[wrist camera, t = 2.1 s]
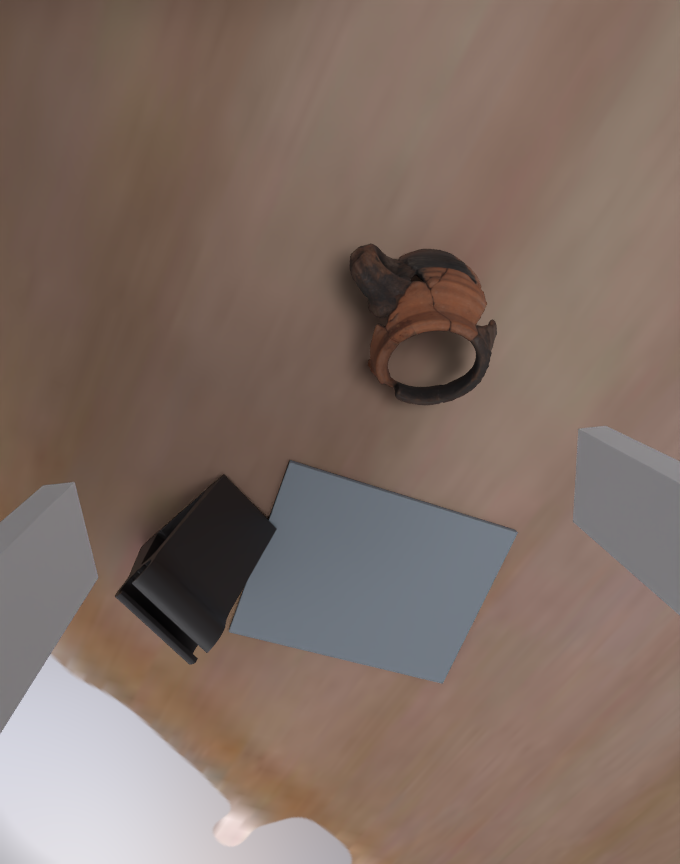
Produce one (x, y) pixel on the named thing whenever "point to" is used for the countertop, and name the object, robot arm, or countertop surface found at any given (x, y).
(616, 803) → the countertop surface
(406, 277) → the pottery mug
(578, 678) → the countertop surface
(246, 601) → the slate mat
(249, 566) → the phone stand
